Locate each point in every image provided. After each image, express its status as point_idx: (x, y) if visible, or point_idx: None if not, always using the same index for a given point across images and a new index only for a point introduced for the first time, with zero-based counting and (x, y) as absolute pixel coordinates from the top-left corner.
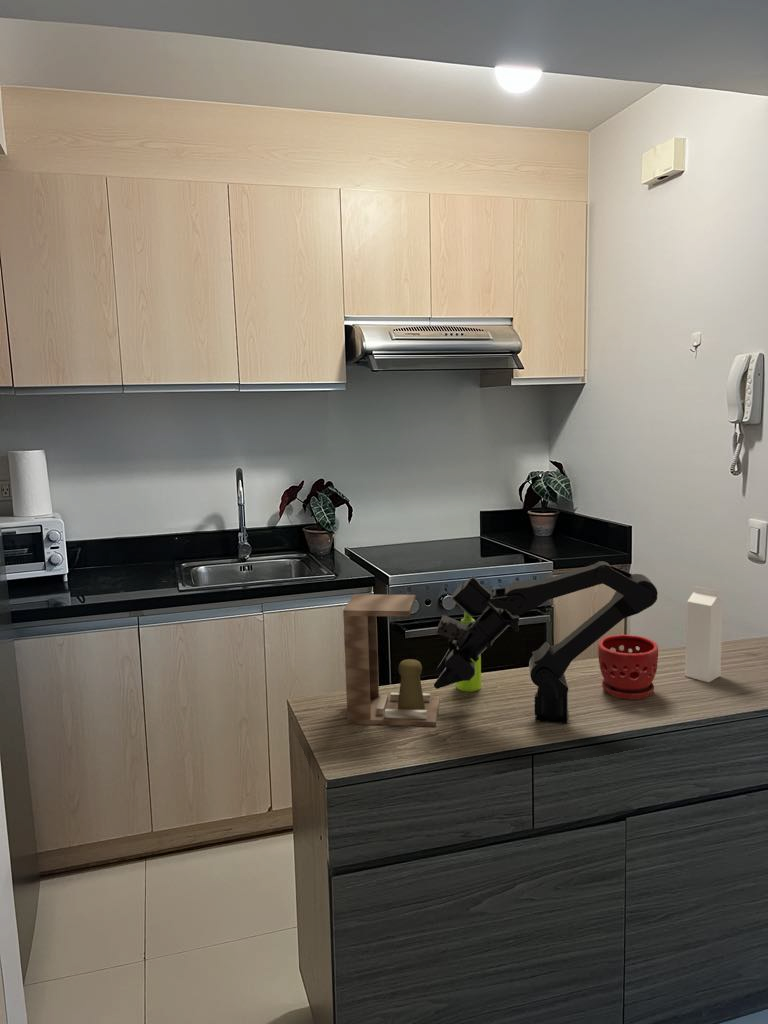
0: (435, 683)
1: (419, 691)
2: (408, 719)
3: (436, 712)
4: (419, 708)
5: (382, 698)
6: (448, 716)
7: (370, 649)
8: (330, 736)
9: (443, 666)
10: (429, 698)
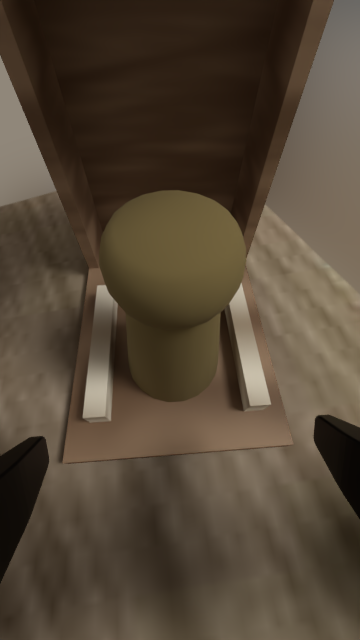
0: (9, 451)
1: (149, 361)
2: (88, 361)
3: (149, 453)
4: (141, 384)
5: None
6: (161, 506)
7: (278, 77)
8: (34, 221)
9: (352, 469)
10: (247, 406)
